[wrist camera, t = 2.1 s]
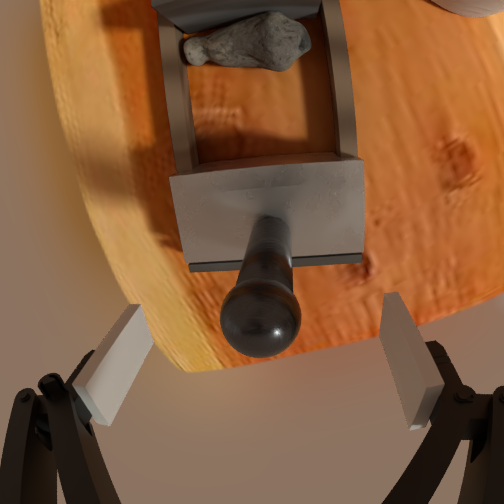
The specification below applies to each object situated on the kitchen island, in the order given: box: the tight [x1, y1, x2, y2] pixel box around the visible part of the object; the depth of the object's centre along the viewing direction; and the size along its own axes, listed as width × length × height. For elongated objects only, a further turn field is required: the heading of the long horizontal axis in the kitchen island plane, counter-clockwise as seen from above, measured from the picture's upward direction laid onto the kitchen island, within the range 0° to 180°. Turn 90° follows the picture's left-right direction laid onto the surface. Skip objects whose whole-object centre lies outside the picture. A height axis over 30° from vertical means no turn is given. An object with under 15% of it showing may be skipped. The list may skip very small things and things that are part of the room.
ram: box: [169, 152, 365, 358], centre depth 21 cm, size 8×16×18 cm, turn 96°
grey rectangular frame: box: [151, 0, 362, 272], centre depth 23 cm, size 26×16×9 cm, turn 6°
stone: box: [183, 11, 311, 72], centre depth 22 cm, size 10×6×8 cm
